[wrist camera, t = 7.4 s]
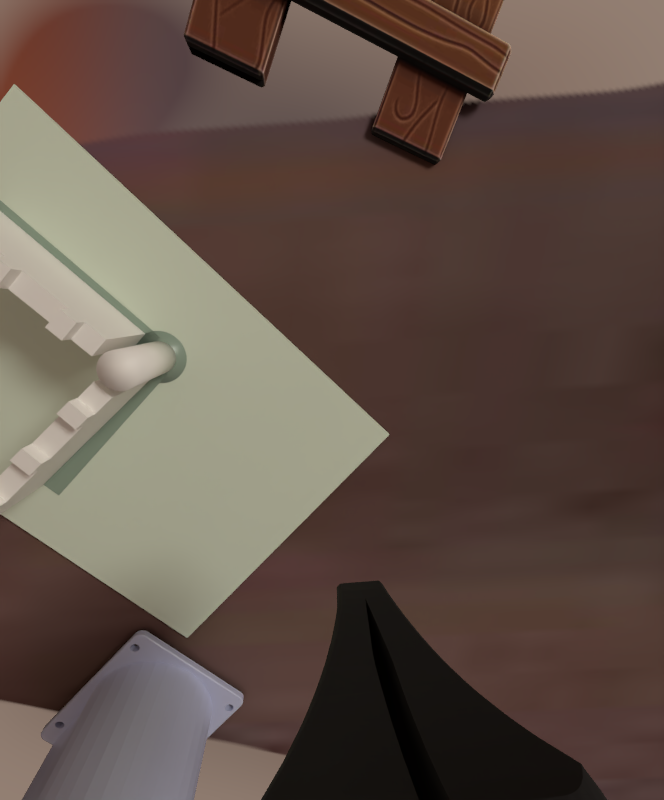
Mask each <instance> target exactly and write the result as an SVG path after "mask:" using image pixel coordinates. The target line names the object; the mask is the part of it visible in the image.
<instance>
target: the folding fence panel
mask: <svg viewBox="0 0 664 800" xmlns="http://www.w3.org/2000/svg"><path fill="white" fill-rule="evenodd" d="M147 382H148V381H147ZM147 382H145V383H142V384H140V385H138V386H136V387H134V388H131V389H129V390H127V391H114V390H111V389H109V388H107V387H106V386H105V385H104V384H103V383H102V382H101V381H100V380H97V381H94V382H93V383H92V384H91V385H90V386H89V387H88V388H87V389H86V390H85V391H84V392H83V393H82V394H81V395H80V396H79V397H78V398H76V399H73V400H71V401H69V402H68V403H67V404H66V405H65V406H64V407H63V408H62V409H61V410H60V411H59V412H58V413H57V415H58V416H59V417H58V418H57V419H56V420H55V421H54V422H53V423H52V424H51V425H50V426H49V427H48V428H47V429H46V430H45V431H44V432H43V433H42V434H41V435H40V436H39V437H38V438H37V439H36V440H35V441H34V442H33V443H32V444H30V445H28V446H26V447H24V448H22V449H21V450H20V451H19V452H18V453H17V454H16V455H15V456H14V457H13V458H12V459H11V460H10V461H11V462H12V464H11V465H10V466H9V467H8V468H7V469H6V470H5V471H4V472H3V473H2V474H1V475H0V514H1V513H3V512H4V511H6V510H7V509H9V508H10V507H12V506H13V505H15V504H16V503H18V502H19V501H21V500H22V499H24V498H25V497H26V496H28V495H29V494H31V493H32V492H34V491H35V490H37V489H38V488H40V487H41V486H42V485H43V484H45V483H46V482H47V481H48V480H49V479H50V478H51V477H52V476H53V475H54V474H55V473H56V472H57V471H58V470H59V469H60V468H61V467H62V466H63V465H64V464H65V463H66V462H67V461H68V460H69V459H70V458H71V457H72V456H73V455H74V454H75V453H76V452H77V451H78V450H79V449H80V448H81V447H82V446H83V445H84V444H85V443H86V442H87V441H88V440H89V439H90V438H91V437H92V436H93V435H94V434H95V433H96V432H97V431H98V430H99V429H100V428H101V427H102V426H103V425H104V424H105V423H106V422H108V421H109V420H110V419H111V418H112V417H113V416H114V415H115V414H116V413H117V412H118V411H119V410H120V409H121V408H122V407H123V406H124V405H125V404H126V403H127V402H128V401H129V400H130V399H131V398H132V397H133V396H134V395H135V394H136V393H137V392H138V391H139V390H140V389H141V388H142V387H143V386H144V385H145V384H146V383H147Z"/></svg>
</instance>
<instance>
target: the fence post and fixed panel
mask: <svg viewBox="0 0 664 800" xmlns="http://www.w3.org/2000/svg"><path fill="white" fill-rule="evenodd" d="M0 288H3V289H9V290H10V291H11V292H12V293H14V294H15V295H16V296H17V297H19V298H20V299H21V300H22V301H24V302H25V303H26V304H27V305H29V306H30V307H31V308H32V309H34V310H35V311H36V312H37V313H38V314H40V315H41V316H42V317H43V318H45V319H46V320H47V321H48V322H49V323H48V324H47V325H46V327H45V328H46V329H48V330H49V331H50V332H51V333H53V334H54V335H55V336H56V337H58V338H59V339H60V340H61V341H62V340H70V339H71V340H72V341H73V342H75V343H76V344H77V345H78V346H79V347H81V348H82V349H83V350H84V351H86V352H87V353H88V354H89V355H91V356H96V355H100V354H103V355H102V356H101V357H100V358H99V360H98V362H97V366H96V371H97V375H98V378H99V380H100V381H101V382H102V383H103V384H104V385H105V386H106V387H107V388H109V389H111V390H114V391H127V390H129V389H131V388H134V387H136V386H138V385H140V384H142V383H145V382H147V381H149V380H151V379H153V378H155V377H158V376H160V375H162V374H164V373H166V372H168V371H170V370H171V369H172V368H173V367H174V365H175V363H176V354H175V352H174V350H173V348H172V347H171V346H170V345H168V344H167V343H165V342H162V341H155V342H150V343H145V344H140V345H136V344H137V343H138V342H139V341H140V339H141V338H142V337H143V336H144V335H145V333H144V332H143V331H141V330H140V329H139V328H138V327H137V326H135V325H134V324H133V323H132V322H131V321H130V320H128V319H127V318H126V317H125V316H124V315H123V314H121V313H120V312H119V311H118V310H117V309H115V308H114V307H113V306H112V305H111V304H110V303H108V302H107V301H106V300H105V299H104V298H103V297H101V296H100V295H99V294H98V293H97V292H95V291H94V290H93V289H92V288H91V287H90V286H88V285H87V284H86V283H85V282H84V281H82V280H81V279H80V278H79V277H78V276H77V275H75V274H74V273H73V272H72V271H71V270H70V269H68V268H67V267H66V266H65V265H64V264H62V263H61V262H60V261H59V260H58V259H57V258H55V257H54V256H53V255H52V254H51V253H49V252H48V251H47V250H46V249H45V248H44V247H42V246H41V245H40V244H39V243H38V242H37V241H35V240H34V239H33V238H32V237H31V236H29V235H28V234H27V233H26V232H25V231H24V230H22V229H21V228H20V227H19V226H18V225H17V224H15V223H14V222H13V221H12V220H11V219H9V218H8V217H7V216H6V215H5V214H4V213H2V212H1V211H0Z"/></svg>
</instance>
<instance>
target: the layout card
mask: <svg viewBox="0 0 664 800" xmlns="http://www.w3.org/2000/svg"><path fill="white" fill-rule="evenodd" d="M0 211H1V212H2V213H4V214H5V215H6V216H7V217H8V218H9V219H11V220H12V221H13V222H14V223H15V224H17V225H18V226H19V227H20V228H21V229H22V230H24V231H25V232H26V233H27V234H28V235H29V236H31V237H32V238H33V239H34V240H35V241H37V242H38V243H39V244H40V245H41V246H42V247H44V248H45V249H46V250H47V251H48V252H49V253H51V254H52V255H53V256H54V257H55V258H57V259H58V260H59V261H60V262H61V263H62V264H64V265H65V266H66V267H67V268H68V269H70V270H71V271H72V272H73V273H74V274H75V275H77V276H78V277H79V278H80V279H81V280H82V281H84V282H85V283H86V284H87V285H88V286H90V287H91V288H92V289H93V290H94V291H95V292H97V293H98V294H99V295H100V296H101V297H103V298H104V299H105V300H106V301H107V302H108V303H110V304H111V305H112V306H113V307H114V308H115V309H117V310H118V311H119V312H120V313H121V314H123V315H124V316H125V317H126V318H127V319H128V320H130V321H131V322H132V323H133V324H134V325H135V326H137V327H138V328H139V329H140V330H141V331H143V332H144V333H145V335H144V336H143V337H142V338H141V339H140V341H139V342H138V343H137V344H136V345H140V344H145V343H150V342H155V341H162V342H165V343H167V344H168V345H170V346H171V347H172V348H173V350H174V352H175V354H176V363H175V365H174V367H173V368H172V369H171V370H170V371H168V372H166V373H164V374H162V375H160V376H158V377H155V378H153V379H151V380H149V381H148V382H147V383H146V384H145V385H144V386H143V387H142V388H141V389H140V390H139V391H138V392H137V393H136V394H135V395H134V396H133V397H132V398H131V399H130V400H129V401H128V402H127V403H126V404H125V405H124V406H123V407H122V408H121V409H120V410H119V411H118V412H117V413H116V414H115V415H114V416H113V417H112V418H111V419H110V420H109V421H108V422H106V423H105V424H104V425H103V426H102V427H101V428H100V429H99V430H98V431H97V432H96V433H95V434H94V435H93V436H92V437H91V438H90V439H89V440H88V441H87V442H86V443H85V444H84V445H83V446H82V447H81V448H80V449H79V450H78V451H77V452H76V453H75V454H74V455H73V456H72V457H71V458H70V459H69V460H68V461H67V462H66V463H65V464H64V465H63V466H62V467H61V468H60V469H59V470H58V471H57V472H56V473H55V474H54V475H53V476H52V477H51V478H50V479H49V480H48V481H47V482H46V483H45V484H43V485H42V486H41V487H40V488H38V489H37V490H35V491H34V492H32V493H31V494H29V495H28V496H26V497H25V498H24V499H22V500H21V501H19V502H18V503H16V504H15V505H13V506H12V507H10V508H9V509H7V510H6V511H4V512H3V513H1V515H3V516H4V517H6V518H7V519H9V520H10V521H12V522H13V523H15V524H16V525H18V526H19V527H21V528H22V529H24V530H25V531H27V532H28V533H30V534H31V535H33V536H34V537H36V538H37V539H39V540H40V541H42V542H43V543H45V544H46V545H48V546H49V547H51V548H52V549H54V550H55V551H57V552H58V553H60V554H61V555H63V556H64V557H66V558H67V559H69V560H70V561H72V562H73V563H75V564H76V565H78V566H79V567H81V568H82V569H84V570H85V571H87V572H88V573H90V574H91V575H93V576H94V577H96V578H97V579H99V580H100V581H102V582H103V583H105V584H106V585H108V586H109V587H111V588H112V589H114V590H115V591H117V592H119V593H120V594H122V595H123V596H125V597H126V598H128V599H129V600H131V601H132V602H134V603H135V604H137V605H138V606H140V607H141V608H143V609H144V610H146V611H147V612H149V613H150V614H152V615H153V616H155V617H156V618H158V619H159V620H161V621H162V622H164V623H165V624H167V625H168V626H170V627H171V628H173V629H174V630H176V631H177V632H179V633H180V634H182V635H183V636H185V637H186V638H188V637H189V636H190V635H191V634H192V633H193V632H194V631H195V630H196V629H197V628H198V627H199V626H200V625H201V624H202V623H203V622H204V621H205V620H206V619H207V618H208V617H209V616H210V615H211V614H212V613H213V612H214V611H215V610H216V609H217V608H218V607H219V606H220V605H221V604H222V603H223V602H224V601H225V600H226V599H227V597H228V596H229V595H230V594H231V593H232V592H233V591H234V590H235V589H236V588H237V587H238V586H239V585H240V584H241V583H242V582H243V581H244V580H245V579H246V578H247V577H248V576H249V575H250V574H251V573H252V572H253V571H254V570H255V569H256V568H257V567H258V566H259V565H260V564H261V563H262V562H263V561H264V560H265V559H266V558H267V557H268V556H269V555H270V554H271V553H272V552H273V551H274V550H275V549H276V548H277V547H278V546H279V545H280V544H281V543H282V542H283V541H284V540H285V539H286V538H287V537H288V536H289V535H290V534H291V533H292V532H293V531H294V530H295V529H296V528H297V527H298V526H299V525H300V524H301V523H302V522H303V521H304V520H305V519H306V518H307V517H308V516H309V515H310V514H311V513H312V512H313V511H314V510H315V509H316V508H317V507H318V506H319V505H320V504H321V503H322V502H323V501H324V500H325V499H326V498H327V497H328V496H329V495H330V494H331V493H332V492H333V491H334V490H335V489H336V488H337V487H338V486H339V485H340V484H341V483H342V482H343V481H344V480H345V479H346V478H347V477H348V476H349V475H350V474H351V473H352V472H353V471H354V470H355V469H356V468H357V467H358V466H359V465H360V464H361V463H362V462H363V461H364V460H365V459H366V458H367V457H368V456H369V455H370V454H371V453H372V452H373V451H374V450H375V449H376V448H377V447H378V446H379V445H380V444H381V443H382V442H383V441H384V440H385V439H386V438H387V437H388V436H389V433H388V432H387V431H386V430H384V429H383V428H382V427H381V426H380V425H379V424H378V423H377V422H376V421H375V420H374V419H373V418H372V417H371V416H369V415H368V414H367V413H366V412H365V411H364V410H363V409H362V408H361V407H360V406H359V405H358V404H357V403H356V402H354V401H353V400H352V399H351V398H350V397H349V396H348V395H347V394H346V393H345V392H344V391H343V390H342V389H341V388H339V387H338V386H337V385H336V384H335V383H334V382H333V381H332V380H331V379H330V378H329V377H328V376H327V375H326V374H325V373H323V372H322V371H321V370H320V369H319V368H318V367H317V366H316V365H315V364H314V363H313V362H312V361H311V360H310V359H308V358H307V357H306V356H305V355H304V354H303V353H302V352H301V351H300V350H299V349H298V348H297V347H296V346H295V345H293V344H292V343H291V342H290V341H289V340H288V339H287V338H286V337H285V336H284V335H283V334H282V333H281V332H280V331H278V330H277V329H276V328H275V327H274V326H273V325H272V324H271V323H270V322H269V321H268V320H267V319H266V318H265V317H263V316H262V315H261V314H260V313H259V312H258V311H257V310H256V309H255V308H254V307H253V306H252V305H251V304H250V303H249V302H247V301H246V300H245V299H244V298H243V297H242V296H241V295H240V294H239V293H238V292H237V291H236V290H235V289H234V288H232V287H231V286H230V285H229V284H228V283H227V282H226V281H225V280H224V279H223V278H222V277H221V276H220V275H219V274H217V273H216V272H215V271H214V270H213V269H212V268H211V267H210V266H209V265H208V264H207V263H206V262H205V261H204V260H202V259H201V258H200V257H199V256H198V255H197V254H196V253H195V252H194V251H193V250H192V249H191V248H190V247H189V246H187V245H186V244H185V243H184V242H183V241H182V240H181V239H180V238H179V237H178V236H177V235H176V234H175V233H174V232H173V231H171V230H170V229H169V228H168V227H167V226H166V225H165V224H164V223H163V222H162V221H161V220H160V219H159V218H158V217H156V216H155V215H154V214H153V213H152V212H151V211H150V210H149V209H148V208H147V207H146V206H145V205H144V204H143V203H141V202H140V201H139V200H138V199H137V198H136V197H135V196H134V195H133V194H132V193H131V192H130V191H129V190H128V189H126V188H125V187H124V186H123V185H122V184H121V183H120V182H119V181H118V180H117V179H116V178H115V177H114V176H113V175H111V174H110V173H109V172H108V171H107V170H106V169H105V168H104V167H103V166H102V165H101V164H100V163H99V162H98V161H97V160H95V159H94V158H93V157H92V156H91V155H90V154H89V153H88V152H87V151H86V150H85V149H84V148H83V147H82V146H80V145H79V144H78V143H77V142H76V141H75V140H74V139H73V138H72V137H71V136H70V135H69V134H68V133H66V132H65V131H64V130H63V129H62V128H61V127H60V126H59V125H58V124H57V123H56V122H55V121H54V120H53V119H52V118H50V117H49V116H48V115H47V114H46V113H45V112H44V111H43V110H42V109H41V108H40V107H39V106H38V105H37V104H35V103H34V102H33V101H32V100H31V99H30V98H29V97H28V96H27V95H26V94H25V93H24V92H23V91H22V90H20V89H19V88H18V87H17V86H16V85H15V84H14V85H13V86H12V88H11V89H10V90H9V91H8V93H7V94H6V95H5V97H4V98H3V99H2V101H1V102H0ZM48 323H49V322H48V321H47V320H46V319H45V318H43V317H42V316H41V315H40V314H38V313H37V312H36V311H35V310H34V309H32V308H31V307H30V306H29V305H27V304H26V303H25V302H24V301H22V300H21V299H20V298H19V297H17V296H16V295H15V294H14V293H12V292H11V291H10V290H9V289H3V288H0V475H1V474H2V473H3V472H4V471H5V470H6V469H7V468H8V467H9V466H10V465H11V464H12V462H11V461H10V460H11V459H12V458H13V457H14V456H15V455H16V454H17V453H18V452H19V451H20V450H21V449H22V448H24V447H26V446H28V445H30V444H32V443H33V442H34V441H35V440H36V439H37V438H38V437H39V436H40V435H41V434H42V433H43V432H44V431H45V430H46V429H47V428H48V427H49V426H50V425H51V424H52V423H53V422H54V421H55V420H56V419H57V418H58V417H59V416H58V415H57V413H58V412H59V411H60V410H61V409H62V408H63V407H64V406H65V405H66V404H67V403H68V402H69V401H71V400H73V399H76V398H78V397H79V396H80V395H81V394H82V393H83V392H84V391H85V390H86V389H87V388H88V387H89V386H90V385H91V384H92V383H93V382H94V381H97V380H99V378H98V375H97V371H96V366H97V362H98V360H99V358H100V357H101V356H102V355H103V354H100V355H96V356H91V355H89V354H88V353H87V352H86V351H84V350H83V349H82V348H81V347H79V346H78V345H77V344H76V343H75V342H73V341H72V340H71V339H70V340H62V341H61V340H60V339H59V338H58V337H56V336H55V335H54V334H53V333H51V332H50V331H49V330H48V329H46V328H45V327H46V325H47V324H48Z"/></svg>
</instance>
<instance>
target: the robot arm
mask: <svg viewBox="0 0 664 800" xmlns="http://www.w3.org/2000/svg"><path fill="white" fill-rule="evenodd" d="M134 644H136V645H138V646H135V645H134ZM243 697H244V696H243V694H242V693H241V692H240V691H238V690H237V689H235V688H234V687H232V686H231V685H229V684H228V683H226V682H225V681H223V680H222V679H220V678H218V677H217V676H215V675H214V674H212V673H211V672H209V671H208V670H206V669H205V668H203V667H202V666H200V665H198V664H197V663H195V662H194V661H192V660H191V659H189V658H188V657H186V656H185V655H183V654H182V653H180V652H178V651H177V650H175V649H174V648H172V647H171V646H169V645H168V644H166V643H165V642H163V641H162V640H160V639H159V638H157V637H155V636H154V635H152V634H151V633H149V632H148V631H145V630H141V631H138V632H136V633H135V634H134V635H133V636H132V637H131V638H130V639H129V640H128V641H127V642H126V643H125V644H124V645H123V646H122V647H121V649H120V650H119V651H118V652H117V653H116V654H115V655H114V656H113V657H112V658H111V659H110V660H109V661H108V662H107V663H106V664H105V665H104V666H103V667H102V668H101V669H100V670H99V671H98V672H97V673H96V674H95V675H94V676H93V677H92V678H91V679H90V680H89V681H88V682H87V683H86V685H85V686H84V687H83V688H82V689H81V690H80V691H79V692H78V693H77V694H76V695H75V696H74V697H73V698H72V699H71V700H70V701H69V702H68V703H67V704H66V705H65V706H64V707H63V708H62V709H61V710H60V711H59V712H58V713H57V714H56V715H55V716H54V717H53V718H52V720H51V721H50V722H49V723H48V724H47V725H46V726H45V727H44V729H43V731H42V732H41V737H42V739H43V740H45V741H47V742H49V743H50V744H52V745H53V746H52V748H51V749H50V751H49V753H48V755H47V756H46V758H45V760H44V762H43V764H42V765H41V767H40V769H39V771H38V772H37V774H36V776H35V778H34V780H33V781H32V783H31V785H30V787H29V788H28V790H27V792H26V794H25V795H24V797H23V799H22V800H194V796H195V791H196V787H197V781H198V777H199V772H200V768H201V763H202V758H203V754H204V748H205V744H206V740H207V738H208V737H209V736H210V735H211V734H212V733H213V732H214V731H215V730H216V729H217V728H218V727H219V726H221V725H222V724H223V723H224V722H225V721H226V720H227V719H228V718H229V717H230V716H231V715H232V714H233V713H234V712H235V711H236V710H237V709H238V708H239V707H240V706H241V705H242V704H243ZM229 704H230V705H229ZM261 800H607V799H606V797H605V796H604V795H603V793H602V792H601V790H600V789H599V787H598V786H597V785H596V783H595V782H594V781H593V779H592V778H591V777H590V775H589V774H588V773H587V772H586V770H585V769H584V767H583V766H582V764H581V763H579V762H577V761H576V760H574V759H572V758H571V757H569V756H568V755H566V754H564V753H563V752H561V751H559V750H558V749H556V748H555V747H553V746H551V745H550V744H548V743H546V742H545V741H543V740H542V739H540V738H538V737H537V736H535V735H534V734H532V733H531V732H530V731H528V730H527V729H525V728H524V727H522V726H521V725H520V724H518V723H517V722H515V721H514V720H512V719H511V718H510V717H508V716H507V715H506V714H504V713H503V712H502V711H500V710H499V709H498V708H497V707H495V706H494V705H493V704H492V703H490V702H489V701H488V700H487V699H485V698H484V697H483V696H482V695H480V694H479V693H478V692H477V691H476V690H474V689H473V688H472V687H471V686H470V685H469V684H468V683H466V682H465V681H464V680H463V679H462V678H461V677H460V676H459V675H458V674H457V673H456V672H455V671H454V670H453V669H451V668H450V667H449V666H448V665H447V664H446V663H445V662H444V660H443V659H442V658H441V657H440V656H439V655H438V654H437V653H436V652H435V651H434V650H433V649H432V648H431V647H430V646H429V644H428V643H427V642H426V641H425V640H424V639H423V638H422V636H421V635H420V634H419V633H418V632H417V631H416V629H415V628H414V627H413V626H412V624H411V623H410V622H409V621H408V619H407V618H406V617H405V616H404V614H403V613H402V612H401V610H400V609H399V608H398V606H397V605H396V604H395V602H394V601H393V599H392V598H391V597H390V595H389V594H388V592H387V591H386V589H385V588H384V586H383V584H382V583H381V582H380V581H369V582H356V583H343V584H340V585H339V586H338V587H337V614H336V620H335V626H334V631H333V636H332V640H331V644H330V648H329V651H328V655H327V659H326V662H325V666H324V669H323V672H322V675H321V678H320V681H319V683H318V686H317V689H316V692H315V694H314V697H313V699H312V702H311V704H310V707H309V709H308V712H307V714H306V716H305V718H304V721H303V723H302V725H301V727H300V729H299V731H298V733H297V735H296V737H295V739H294V741H293V743H292V745H291V747H290V749H289V751H288V753H287V755H286V757H285V759H284V761H283V763H282V765H281V767H280V768H279V770H278V772H277V774H276V775H275V777H274V779H273V780H272V782H271V784H270V785H269V787H268V789H267V791H266V792H265V794H264V796H263V797H262V799H261Z"/></svg>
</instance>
